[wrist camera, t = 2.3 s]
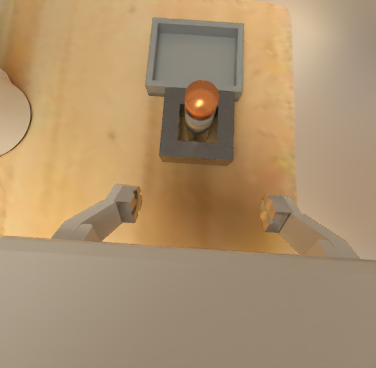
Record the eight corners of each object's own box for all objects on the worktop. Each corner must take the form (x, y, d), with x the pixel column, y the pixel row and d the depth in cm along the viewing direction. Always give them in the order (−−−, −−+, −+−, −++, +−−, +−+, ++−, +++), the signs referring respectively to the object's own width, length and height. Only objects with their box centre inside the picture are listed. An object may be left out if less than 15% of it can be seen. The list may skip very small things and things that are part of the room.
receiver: (162, 161, 29) (159, 155, 25) (167, 101, 30) (165, 88, 27) (227, 165, 29) (232, 160, 25) (229, 105, 30) (234, 92, 27)
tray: (148, 95, 30) (145, 85, 28) (155, 32, 32) (152, 17, 29) (237, 101, 30) (242, 91, 28) (239, 37, 32) (243, 23, 29)
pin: (184, 143, 29) (183, 110, 19) (186, 121, 30) (185, 78, 20) (207, 144, 29) (218, 113, 19) (208, 123, 30) (220, 81, 20)
